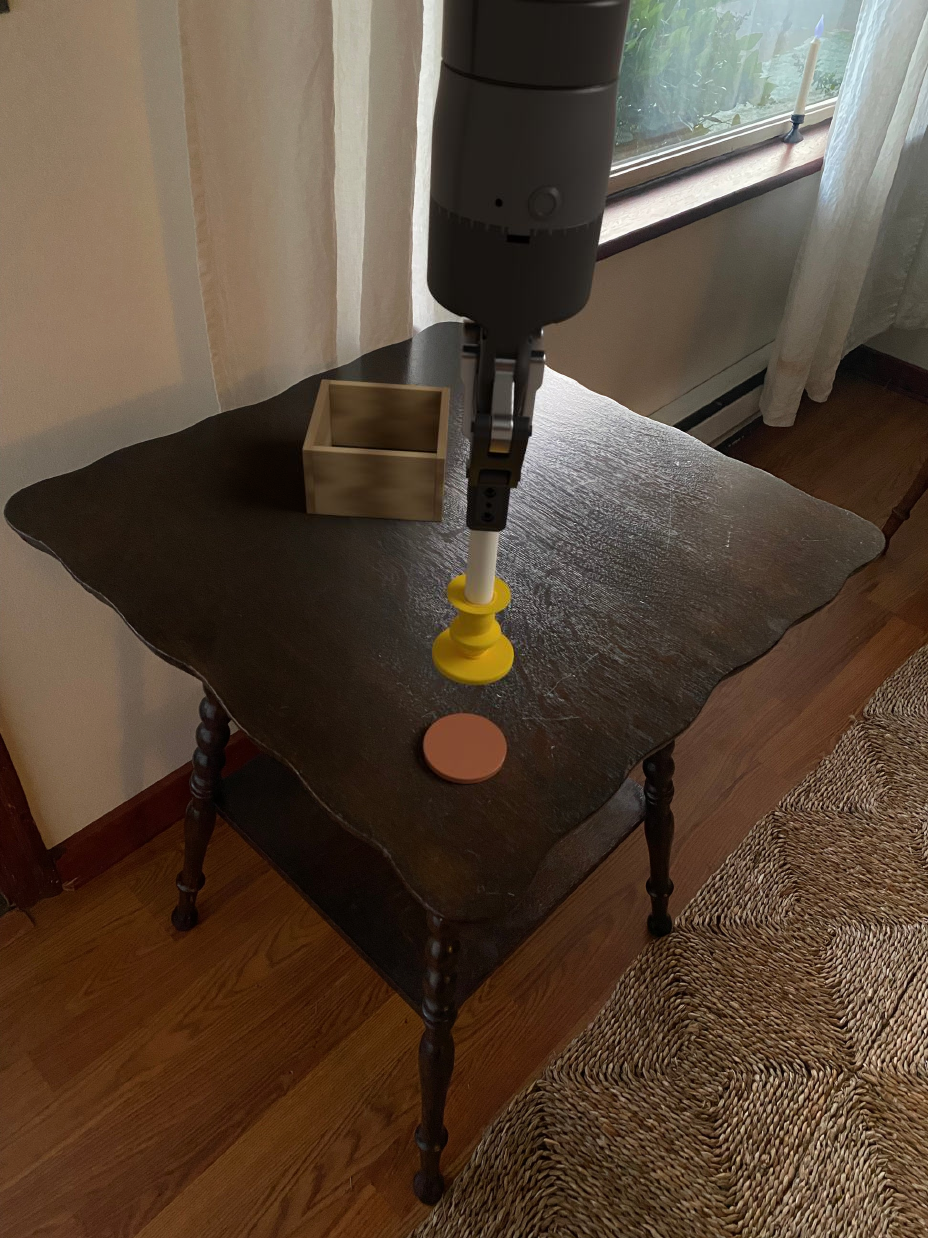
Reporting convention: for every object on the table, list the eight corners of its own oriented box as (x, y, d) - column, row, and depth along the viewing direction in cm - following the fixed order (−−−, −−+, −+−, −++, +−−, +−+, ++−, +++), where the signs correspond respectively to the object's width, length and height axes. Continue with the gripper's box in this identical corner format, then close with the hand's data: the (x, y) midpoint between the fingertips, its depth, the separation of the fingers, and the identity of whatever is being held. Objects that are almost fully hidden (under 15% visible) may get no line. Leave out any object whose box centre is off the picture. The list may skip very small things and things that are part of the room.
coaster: (420, 782, 62) (420, 776, 62) (425, 715, 67) (425, 710, 66) (506, 786, 62) (507, 781, 62) (505, 720, 67) (506, 715, 66)
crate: (306, 513, 83) (302, 449, 79) (325, 440, 93) (321, 378, 88) (441, 522, 84) (445, 458, 79) (446, 448, 93) (450, 387, 88)
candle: (426, 631, 59) (436, 420, 48) (504, 626, 60) (530, 417, 49) (438, 689, 55) (451, 473, 45) (520, 682, 56) (553, 469, 45)
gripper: (437, 133, 43) (425, 444, 55) (420, 242, 33) (410, 593, 45) (592, 145, 43) (546, 452, 55) (622, 257, 33) (558, 602, 45)
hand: (485, 514), depth 50 cm, fingers closed on candle
